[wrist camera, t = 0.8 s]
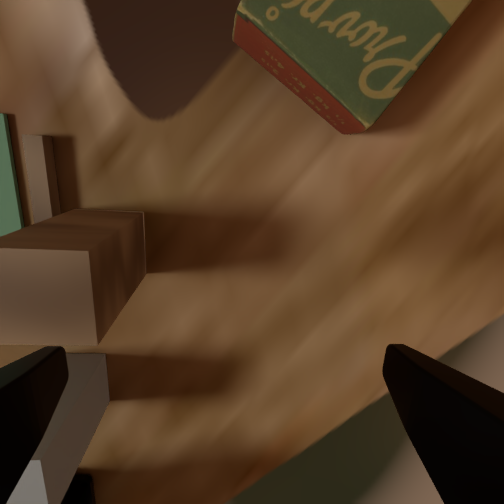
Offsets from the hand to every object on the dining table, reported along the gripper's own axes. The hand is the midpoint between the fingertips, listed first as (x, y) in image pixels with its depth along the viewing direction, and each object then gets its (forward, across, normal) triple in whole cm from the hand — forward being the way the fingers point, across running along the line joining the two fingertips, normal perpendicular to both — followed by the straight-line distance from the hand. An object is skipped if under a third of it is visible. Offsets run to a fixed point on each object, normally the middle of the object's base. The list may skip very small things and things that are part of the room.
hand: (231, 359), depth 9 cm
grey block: (+12, +10, +10) cm, 19 cm away
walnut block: (+12, +7, 0) cm, 14 cm away
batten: (+12, +11, 0) cm, 16 cm away
